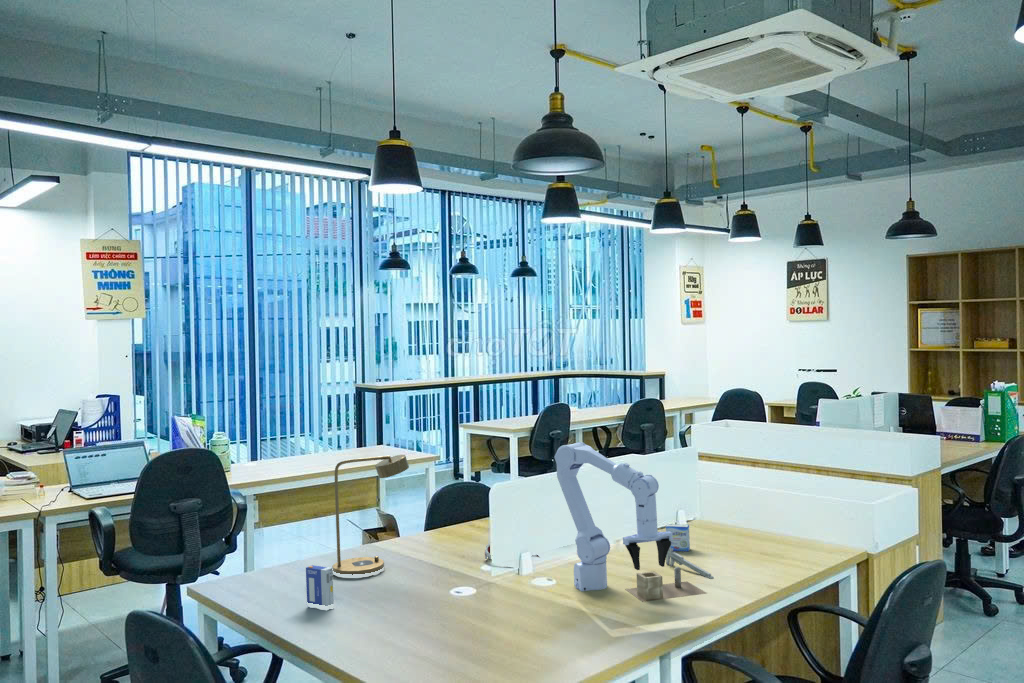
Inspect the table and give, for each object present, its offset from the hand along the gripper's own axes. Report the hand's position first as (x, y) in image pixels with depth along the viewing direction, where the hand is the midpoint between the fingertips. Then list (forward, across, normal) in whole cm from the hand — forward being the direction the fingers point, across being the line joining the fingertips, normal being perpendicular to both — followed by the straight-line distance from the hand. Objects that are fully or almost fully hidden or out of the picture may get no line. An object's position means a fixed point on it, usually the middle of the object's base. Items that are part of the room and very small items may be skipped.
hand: (649, 567), depth 218 cm
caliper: (+10, +24, +22) cm, 34 cm away
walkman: (+8, -90, +31) cm, 95 cm away
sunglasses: (+9, -25, +59) cm, 65 cm away
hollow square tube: (+8, 0, 0) cm, 8 cm away
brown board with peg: (+10, +6, +2) cm, 11 cm away
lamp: (+8, -71, +66) cm, 97 cm away
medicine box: (+10, +34, +47) cm, 58 cm away
